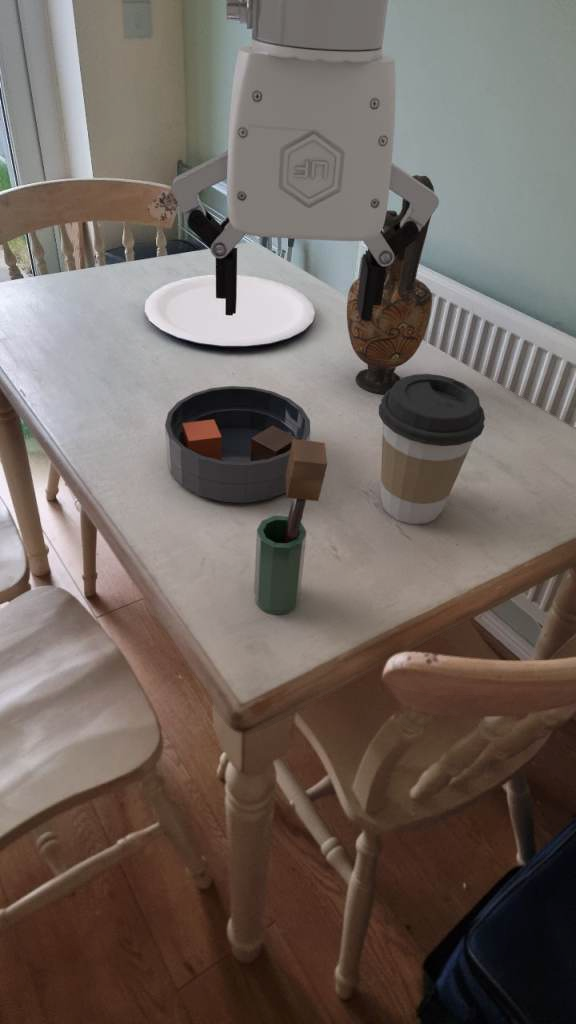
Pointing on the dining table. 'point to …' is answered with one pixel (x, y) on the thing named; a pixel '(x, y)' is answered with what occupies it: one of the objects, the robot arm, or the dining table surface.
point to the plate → (202, 318)
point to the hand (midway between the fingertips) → (297, 310)
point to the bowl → (233, 442)
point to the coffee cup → (425, 443)
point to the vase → (392, 313)
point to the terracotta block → (203, 438)
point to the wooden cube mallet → (303, 480)
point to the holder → (278, 566)
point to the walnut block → (270, 443)
